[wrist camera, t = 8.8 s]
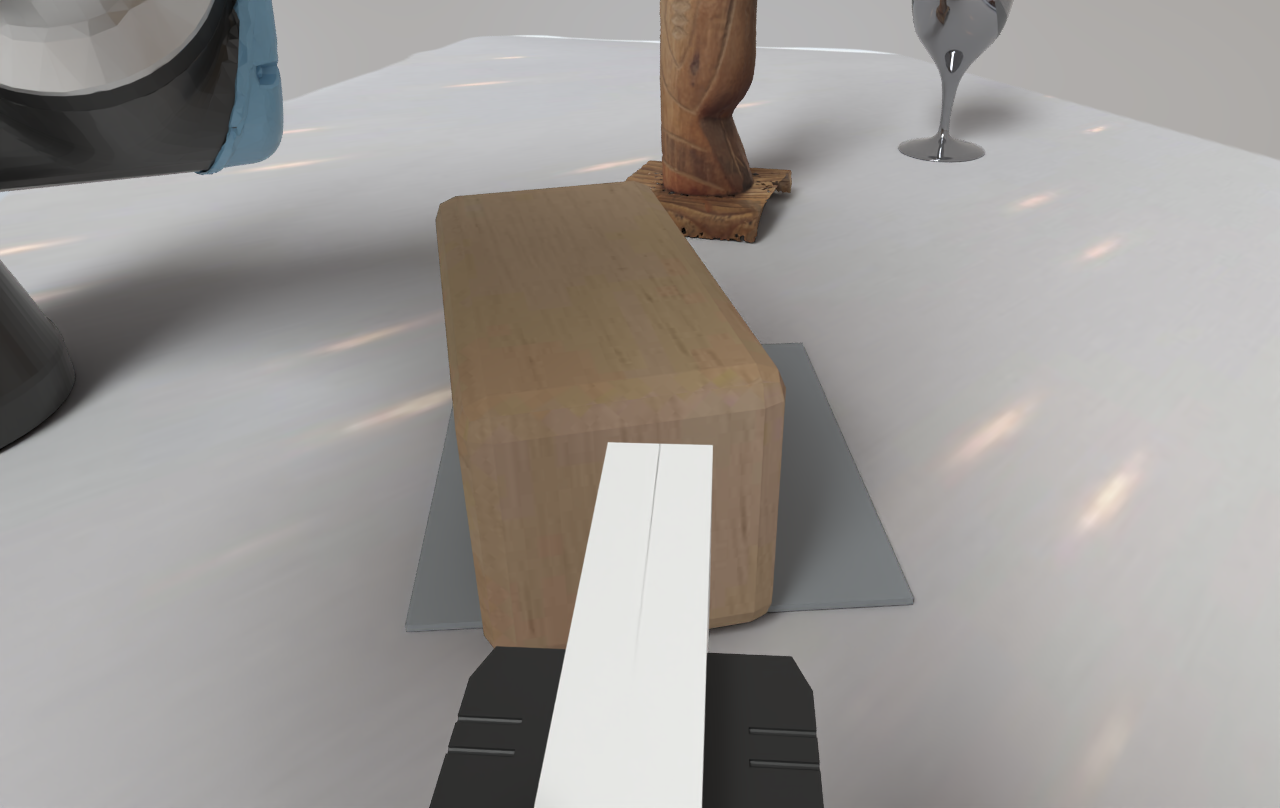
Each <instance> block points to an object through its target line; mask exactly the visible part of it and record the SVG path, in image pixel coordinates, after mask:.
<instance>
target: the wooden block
mask: <svg viewBox="0 0 1280 808" xmlns="http://www.w3.org/2000/svg"><path fill="white" fill-rule="evenodd" d="M436 231H437V241H438V252H439V263H440V273H441V284H442V294H443V305H444V315H445V326H446V336H447V347H448V358H449V368H450V379H451V389H452V400H453V410H454V421H455V431H456V438H457V446H458V453H459V460H460V467H461V474H462V481H463V489H464V496H465V503H466V510H467V517H468V524H469V531H470V539H471V546H472V553H473V560H474V567H475V574H476V582H477V589H478V596H479V603H480V610H481V617H482V625H483V632H484V636H485V637H486V639H487V640H488V641H489V642H490V644H491V645H492V646H493V648H495V647H496V646H504V647H527V648H550V649H566V647H567V642H568V637H569V632H570V627H571V622H572V618H573V613H574V608H575V603H576V598H577V593H578V588H579V583H580V578H581V573H582V568H583V563H584V558H585V553H586V548H587V543H588V539H589V534H590V529H591V524H592V519H593V514H594V509H595V504H596V499H597V494H598V489H599V484H600V479H601V474H602V469H603V464H604V460H605V455H606V450H607V445H608V442H615V443H653V444H691V445H713V465H712V515H711V566H710V608H709V629H710V628H716V627H722V626H728V625H734V624H740V623H746V622H751V621H753V620H755V619H757V618H759V617H760V616H762V615H764V614H766V613H767V611H768V609H769V607H770V605H771V603H772V594H773V581H774V566H775V551H776V535H777V520H778V504H779V489H780V474H781V458H782V443H783V428H784V412H785V397H786V387H785V384H784V382H783V380H782V377H781V375H780V372H779V370H778V368H777V367H776V365H775V364H774V362H773V361H772V360H771V358H770V357H769V355H768V354H767V353H766V351H765V350H764V348H763V347H762V345H761V344H760V343H759V341H758V340H757V338H756V337H755V336H754V334H753V333H752V331H751V330H750V329H749V327H748V326H747V324H746V323H745V321H744V320H743V319H742V317H741V316H740V314H739V313H738V312H737V310H736V309H735V307H734V306H733V305H732V303H731V302H730V300H729V299H728V297H727V296H726V295H725V293H724V292H723V290H722V289H721V288H720V286H719V285H718V283H717V282H716V281H715V279H714V278H713V276H712V275H711V273H710V272H709V271H708V269H707V268H706V266H705V265H704V264H703V262H702V261H701V259H700V258H699V257H698V255H697V254H696V252H695V251H694V249H693V248H692V247H691V245H690V244H689V242H688V241H687V240H686V238H685V237H684V235H683V234H682V233H681V231H680V230H679V228H678V227H677V225H676V224H675V223H674V221H673V220H672V218H671V217H670V216H669V214H668V213H667V211H666V210H665V209H664V207H663V206H662V204H661V203H660V201H659V200H658V199H657V197H656V196H655V194H654V193H653V192H652V190H651V189H650V187H649V186H647V185H644V184H641V183H638V182H635V181H626V182H615V183H603V184H592V185H580V186H569V187H557V188H546V189H534V190H523V191H512V192H500V193H489V194H477V195H466V196H455V197H453V198H451V199H449V200H447V201H446V202H443V203H441V204H440V206H439V210H438V213H437V217H436Z"/></svg>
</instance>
